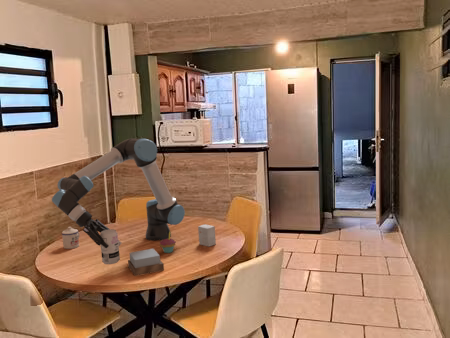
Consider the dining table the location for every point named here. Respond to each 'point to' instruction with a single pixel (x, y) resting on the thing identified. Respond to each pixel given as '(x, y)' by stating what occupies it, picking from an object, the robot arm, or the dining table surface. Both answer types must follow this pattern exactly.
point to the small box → (206, 235)
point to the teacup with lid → (70, 238)
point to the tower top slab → (144, 258)
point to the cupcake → (167, 244)
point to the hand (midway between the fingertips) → (116, 248)
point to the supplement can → (112, 239)
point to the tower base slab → (145, 268)
